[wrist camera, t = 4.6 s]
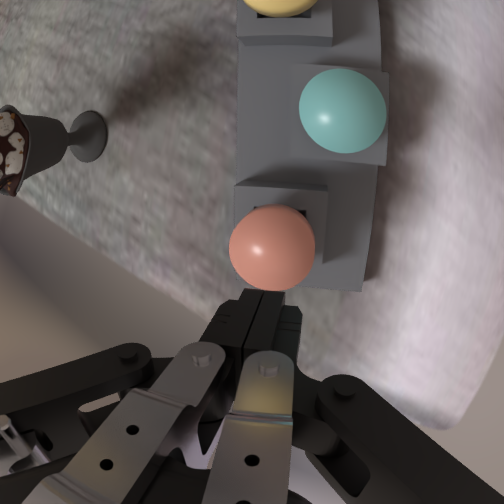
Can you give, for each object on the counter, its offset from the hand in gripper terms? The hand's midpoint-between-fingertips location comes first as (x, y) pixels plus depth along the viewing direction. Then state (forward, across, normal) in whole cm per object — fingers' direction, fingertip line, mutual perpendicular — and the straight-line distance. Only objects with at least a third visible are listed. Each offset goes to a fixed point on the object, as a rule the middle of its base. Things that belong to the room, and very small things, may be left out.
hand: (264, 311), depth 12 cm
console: (+14, -1, -8) cm, 16 cm away
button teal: (+12, -3, -8) cm, 14 cm away
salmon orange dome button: (+10, +1, 0) cm, 10 cm away
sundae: (+14, +19, -7) cm, 25 cm away
